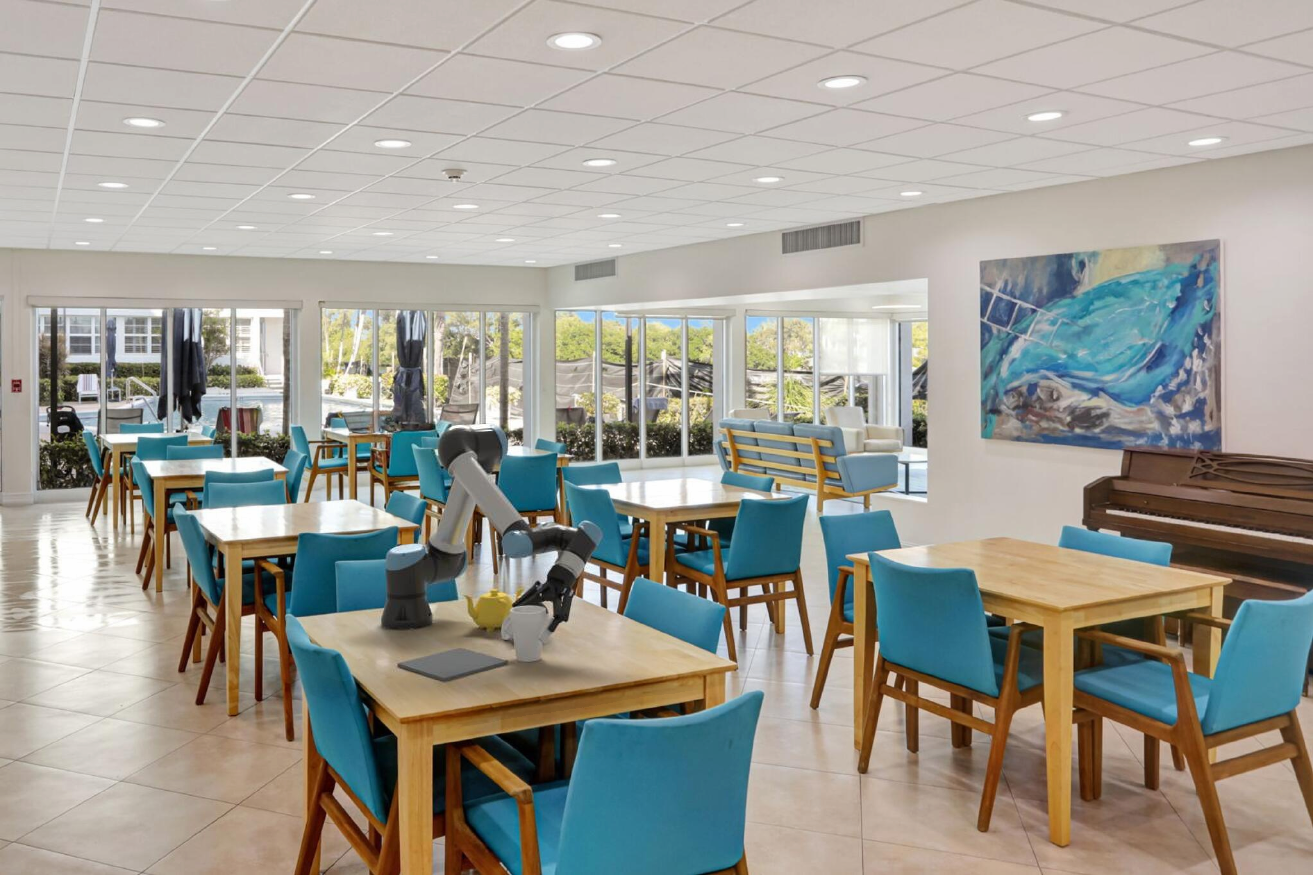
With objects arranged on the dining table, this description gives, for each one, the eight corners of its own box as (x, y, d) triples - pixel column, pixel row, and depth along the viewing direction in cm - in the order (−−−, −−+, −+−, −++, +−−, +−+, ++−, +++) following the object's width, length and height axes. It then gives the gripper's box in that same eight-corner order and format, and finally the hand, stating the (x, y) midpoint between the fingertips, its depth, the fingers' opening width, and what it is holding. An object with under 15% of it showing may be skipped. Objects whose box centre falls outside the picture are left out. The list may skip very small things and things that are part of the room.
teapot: (474, 638, 291) (473, 598, 290) (454, 628, 304) (454, 589, 303) (538, 628, 302) (537, 590, 301) (516, 619, 314) (515, 582, 314)
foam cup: (522, 665, 264) (521, 615, 263) (503, 657, 271) (503, 609, 270) (553, 658, 270) (552, 609, 269) (534, 651, 277) (533, 603, 276)
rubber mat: (397, 666, 264) (397, 663, 264) (460, 650, 278) (460, 647, 278) (444, 681, 250) (444, 678, 250) (508, 663, 265) (507, 660, 265)
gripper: (604, 585, 273) (564, 652, 262) (542, 574, 289) (501, 637, 279) (590, 568, 268) (548, 636, 258) (527, 558, 285) (485, 621, 275)
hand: (523, 637), depth 268 cm, fingers open, 13 cm apart
